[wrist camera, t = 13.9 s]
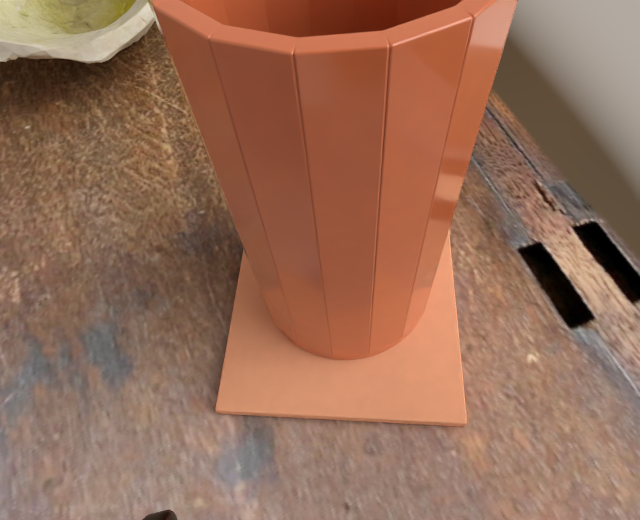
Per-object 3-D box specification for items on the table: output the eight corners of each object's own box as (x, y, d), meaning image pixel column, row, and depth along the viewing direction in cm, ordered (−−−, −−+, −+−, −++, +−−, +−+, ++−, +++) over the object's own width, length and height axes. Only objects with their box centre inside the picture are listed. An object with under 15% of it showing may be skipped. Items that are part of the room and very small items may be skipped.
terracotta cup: (402, 385, 17) (493, 90, 6) (236, 328, 18) (57, 11, 7) (445, 238, 20) (556, -137, 9) (300, 200, 22) (241, -157, 11)
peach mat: (464, 426, 16) (467, 423, 16) (217, 413, 17) (214, 410, 17) (442, 187, 22) (444, 180, 22) (257, 185, 23) (255, 179, 22)
